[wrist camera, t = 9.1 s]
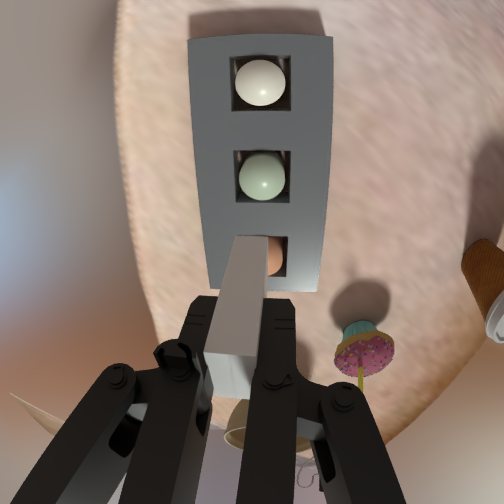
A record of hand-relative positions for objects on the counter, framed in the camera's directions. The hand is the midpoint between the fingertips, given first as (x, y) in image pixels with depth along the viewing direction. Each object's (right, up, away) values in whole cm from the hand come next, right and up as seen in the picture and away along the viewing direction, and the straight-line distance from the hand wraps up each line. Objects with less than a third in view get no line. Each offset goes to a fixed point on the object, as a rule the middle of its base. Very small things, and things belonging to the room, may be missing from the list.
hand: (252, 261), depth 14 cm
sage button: (+1, +9, +14) cm, 16 cm away
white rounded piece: (+1, +16, +9) cm, 18 cm away
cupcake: (+16, -11, +25) cm, 32 cm away
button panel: (+1, +9, +14) cm, 16 cm away
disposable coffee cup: (+31, 0, +17) cm, 36 cm away
